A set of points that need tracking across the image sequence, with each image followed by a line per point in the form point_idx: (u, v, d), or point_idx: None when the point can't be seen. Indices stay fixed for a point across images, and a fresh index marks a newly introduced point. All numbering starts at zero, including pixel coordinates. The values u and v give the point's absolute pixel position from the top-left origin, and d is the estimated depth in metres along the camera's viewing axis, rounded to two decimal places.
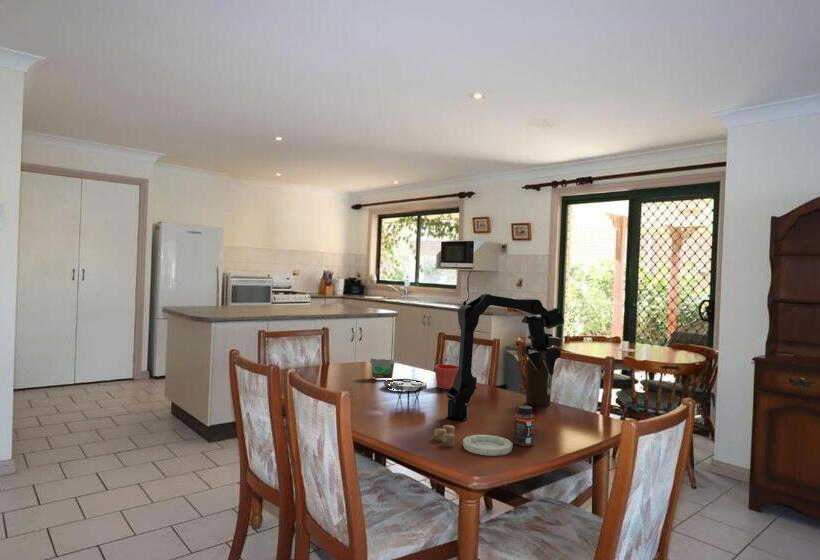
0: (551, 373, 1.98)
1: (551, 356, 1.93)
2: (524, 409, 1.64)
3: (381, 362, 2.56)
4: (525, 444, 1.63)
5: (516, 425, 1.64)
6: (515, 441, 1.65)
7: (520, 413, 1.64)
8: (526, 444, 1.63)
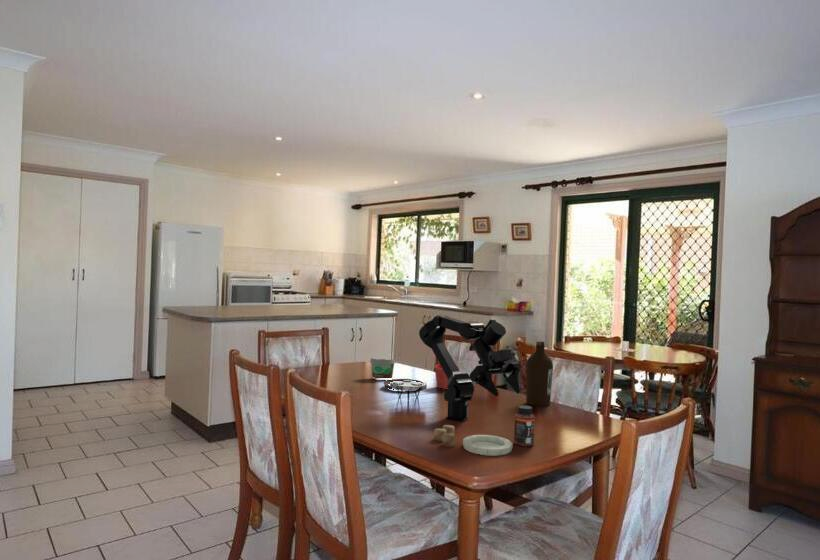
0: (495, 394, 1.70)
1: (472, 377, 1.73)
2: (524, 409, 1.64)
3: (381, 362, 2.56)
4: (525, 444, 1.63)
5: (516, 425, 1.64)
6: (515, 441, 1.65)
7: (520, 413, 1.64)
8: (526, 444, 1.63)
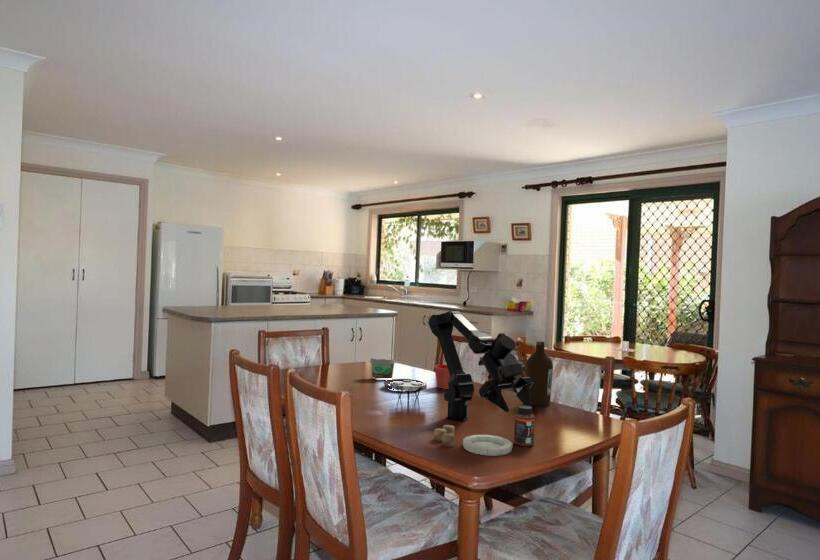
0: (505, 410, 1.65)
1: (482, 392, 1.68)
2: (524, 409, 1.64)
3: (381, 362, 2.56)
4: (525, 444, 1.63)
5: (516, 425, 1.64)
6: (515, 441, 1.65)
7: (520, 413, 1.64)
8: (526, 444, 1.63)
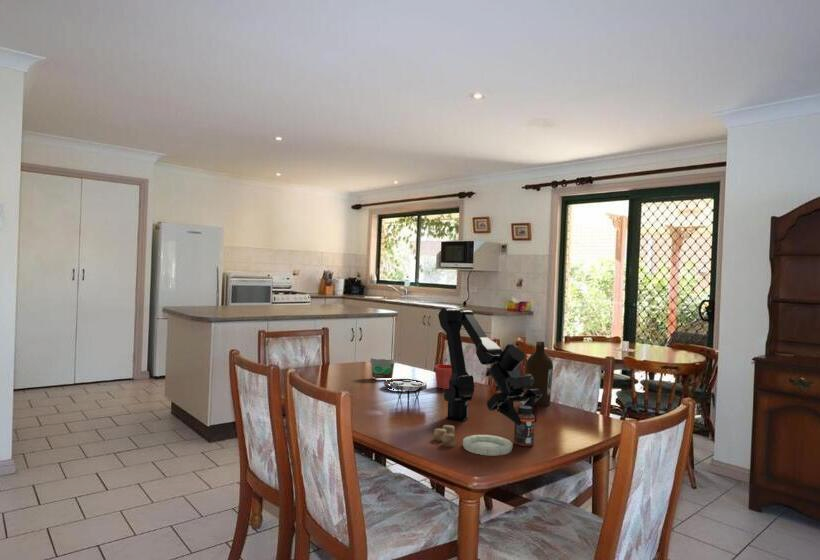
0: (517, 423, 1.63)
1: (490, 405, 1.65)
2: (524, 409, 1.64)
3: (381, 362, 2.56)
4: (525, 444, 1.63)
5: (516, 425, 1.64)
6: (515, 441, 1.65)
7: (520, 413, 1.64)
8: (526, 444, 1.63)
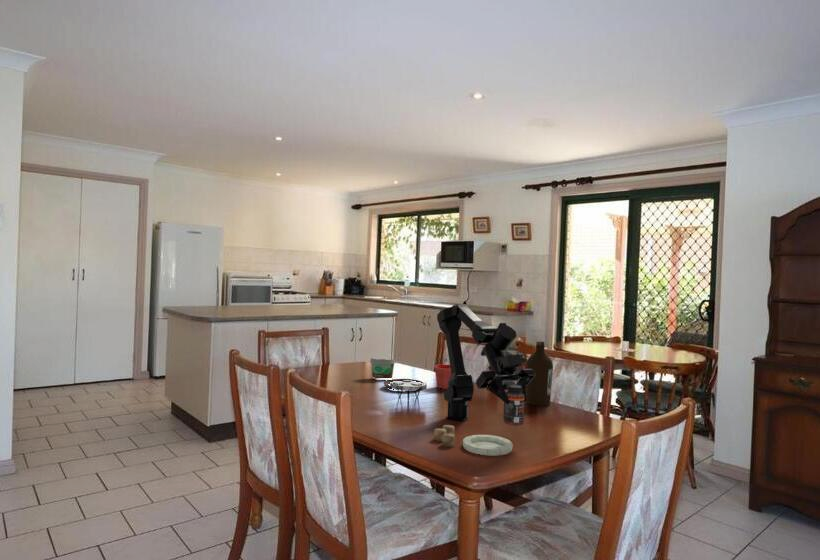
0: (505, 401, 1.61)
1: (478, 383, 1.64)
2: (513, 388, 1.62)
3: (381, 362, 2.56)
4: (513, 423, 1.61)
5: (505, 404, 1.63)
6: (504, 420, 1.63)
7: (509, 392, 1.62)
8: (514, 423, 1.61)
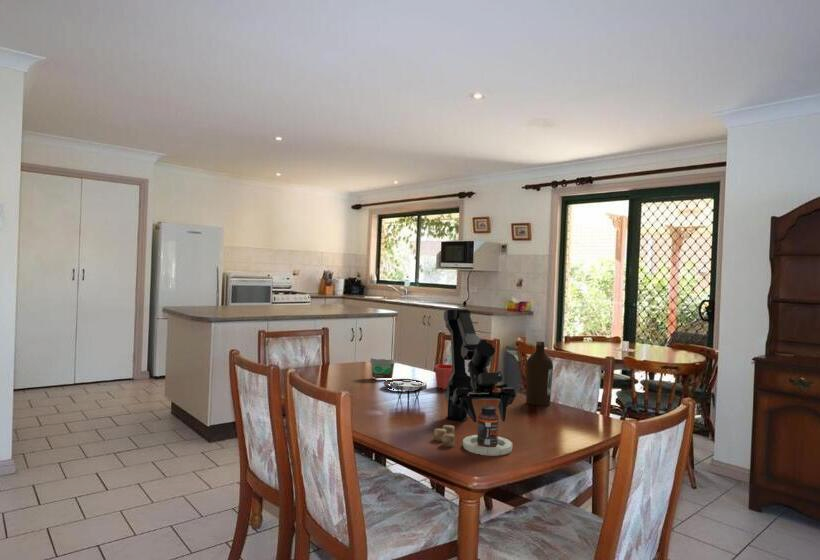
0: (473, 419, 1.59)
1: (453, 399, 1.64)
2: (485, 409, 1.59)
3: (381, 362, 2.56)
4: (484, 445, 1.58)
5: (478, 425, 1.61)
6: (477, 441, 1.61)
7: (482, 413, 1.60)
8: (485, 445, 1.58)
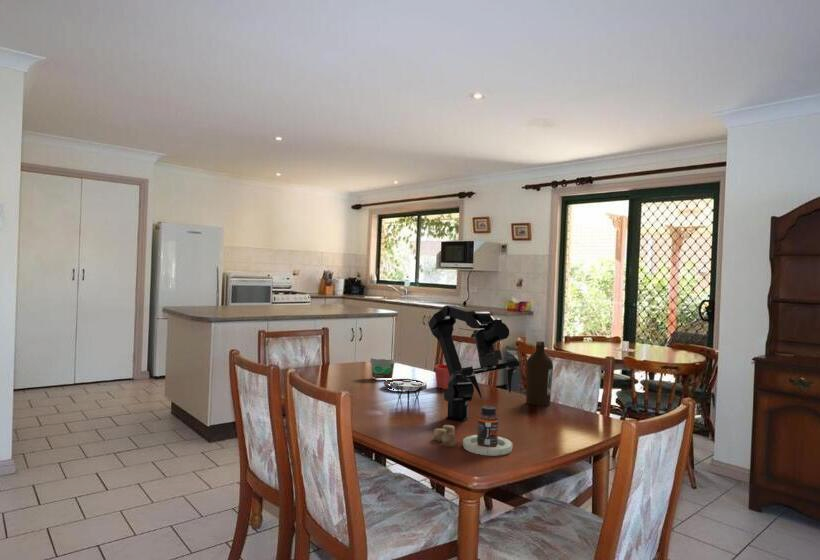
0: (479, 395, 1.75)
1: None
2: (485, 409, 1.59)
3: (381, 362, 2.56)
4: (484, 445, 1.58)
5: (478, 425, 1.61)
6: (477, 441, 1.61)
7: (482, 413, 1.60)
8: (485, 445, 1.58)
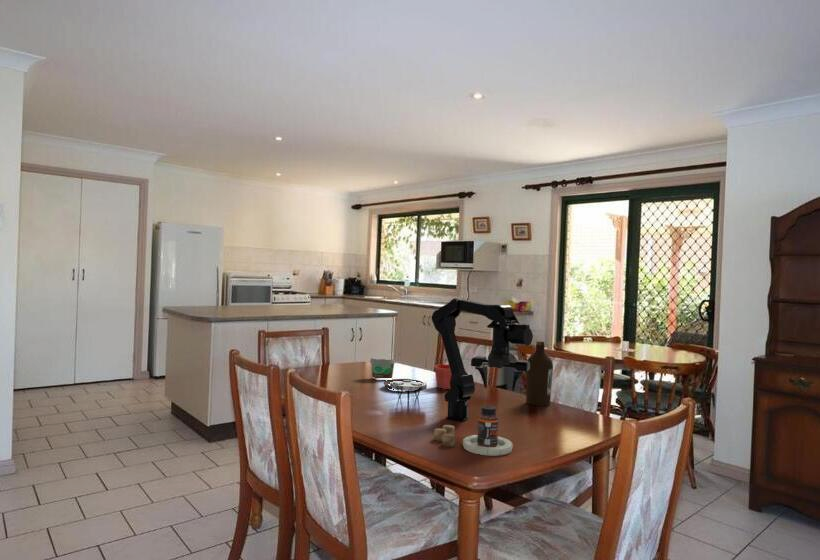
0: None
1: None
2: (485, 409, 1.59)
3: (381, 362, 2.56)
4: (484, 445, 1.58)
5: (478, 425, 1.61)
6: (477, 441, 1.61)
7: (482, 413, 1.60)
8: (485, 445, 1.58)
